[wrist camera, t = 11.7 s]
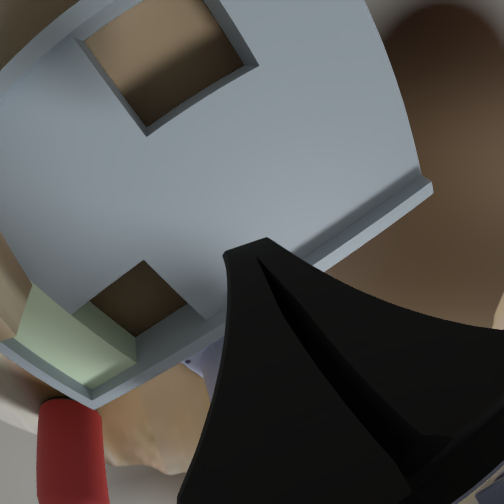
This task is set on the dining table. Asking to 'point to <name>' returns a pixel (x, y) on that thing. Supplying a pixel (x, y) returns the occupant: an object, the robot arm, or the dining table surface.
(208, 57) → the dining table surface
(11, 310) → the block
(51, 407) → the beer can
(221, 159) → the trap box
